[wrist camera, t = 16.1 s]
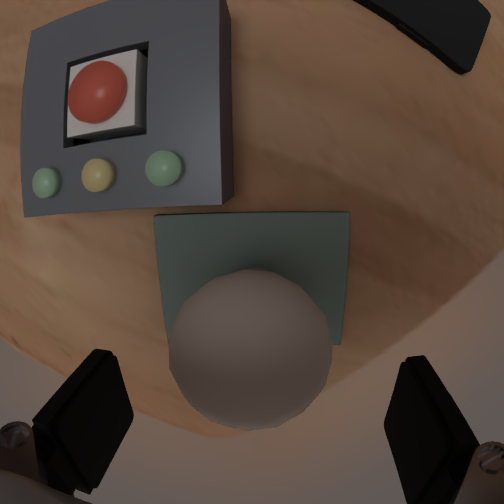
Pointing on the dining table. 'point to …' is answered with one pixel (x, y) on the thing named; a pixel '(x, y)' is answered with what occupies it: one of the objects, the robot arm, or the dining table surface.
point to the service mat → (255, 254)
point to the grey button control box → (158, 110)
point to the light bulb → (250, 349)
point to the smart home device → (439, 26)
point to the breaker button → (108, 97)
